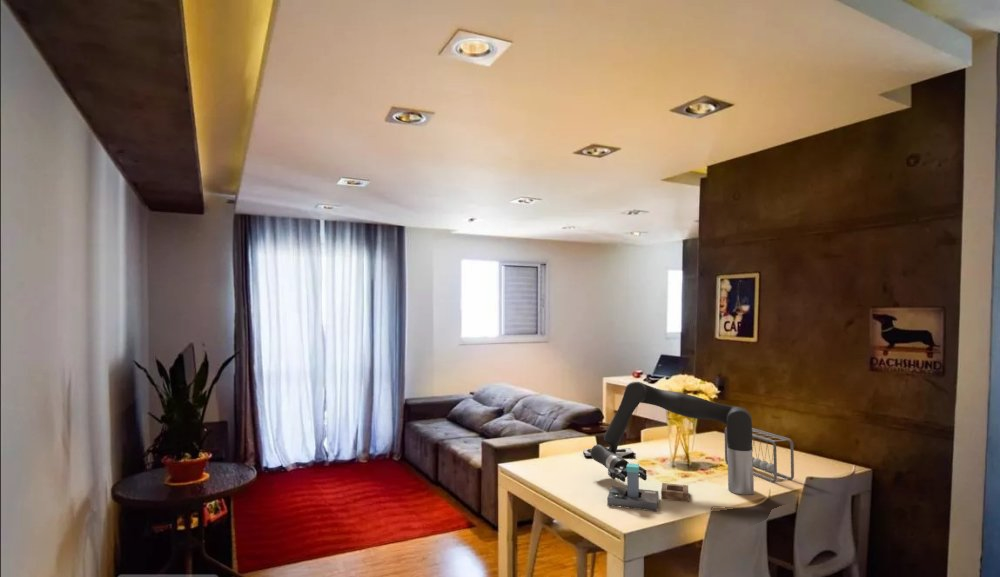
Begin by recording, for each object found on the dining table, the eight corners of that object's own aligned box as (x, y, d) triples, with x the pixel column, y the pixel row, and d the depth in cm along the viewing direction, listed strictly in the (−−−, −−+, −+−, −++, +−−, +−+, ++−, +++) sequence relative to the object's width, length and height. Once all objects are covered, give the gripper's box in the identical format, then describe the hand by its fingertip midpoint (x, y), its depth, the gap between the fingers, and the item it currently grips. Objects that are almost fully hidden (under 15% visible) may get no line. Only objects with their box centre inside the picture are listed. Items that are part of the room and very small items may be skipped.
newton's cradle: (724, 463, 254) (723, 426, 254) (742, 461, 257) (741, 424, 258) (775, 484, 226) (774, 441, 226) (794, 481, 229) (793, 439, 229)
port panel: (658, 498, 209) (658, 490, 209) (656, 511, 197) (656, 502, 197) (611, 493, 215) (611, 485, 215) (607, 505, 203) (607, 496, 203)
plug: (639, 500, 207) (639, 464, 208) (638, 504, 203) (638, 467, 204) (628, 499, 209) (627, 463, 209) (626, 503, 205) (626, 466, 205)
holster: (688, 492, 215) (688, 485, 215) (688, 501, 206) (688, 493, 206) (662, 490, 219) (662, 482, 219) (661, 498, 209) (661, 491, 209)
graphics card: (635, 452, 264) (584, 452, 264) (635, 459, 264) (585, 459, 264) (631, 447, 274) (582, 447, 274) (631, 453, 274) (582, 453, 274)
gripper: (601, 457, 219) (617, 469, 203) (633, 455, 222) (652, 467, 206) (601, 476, 219) (617, 489, 203) (634, 474, 222) (652, 487, 206)
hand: (635, 478), depth 204 cm, fingers open, 8 cm apart
